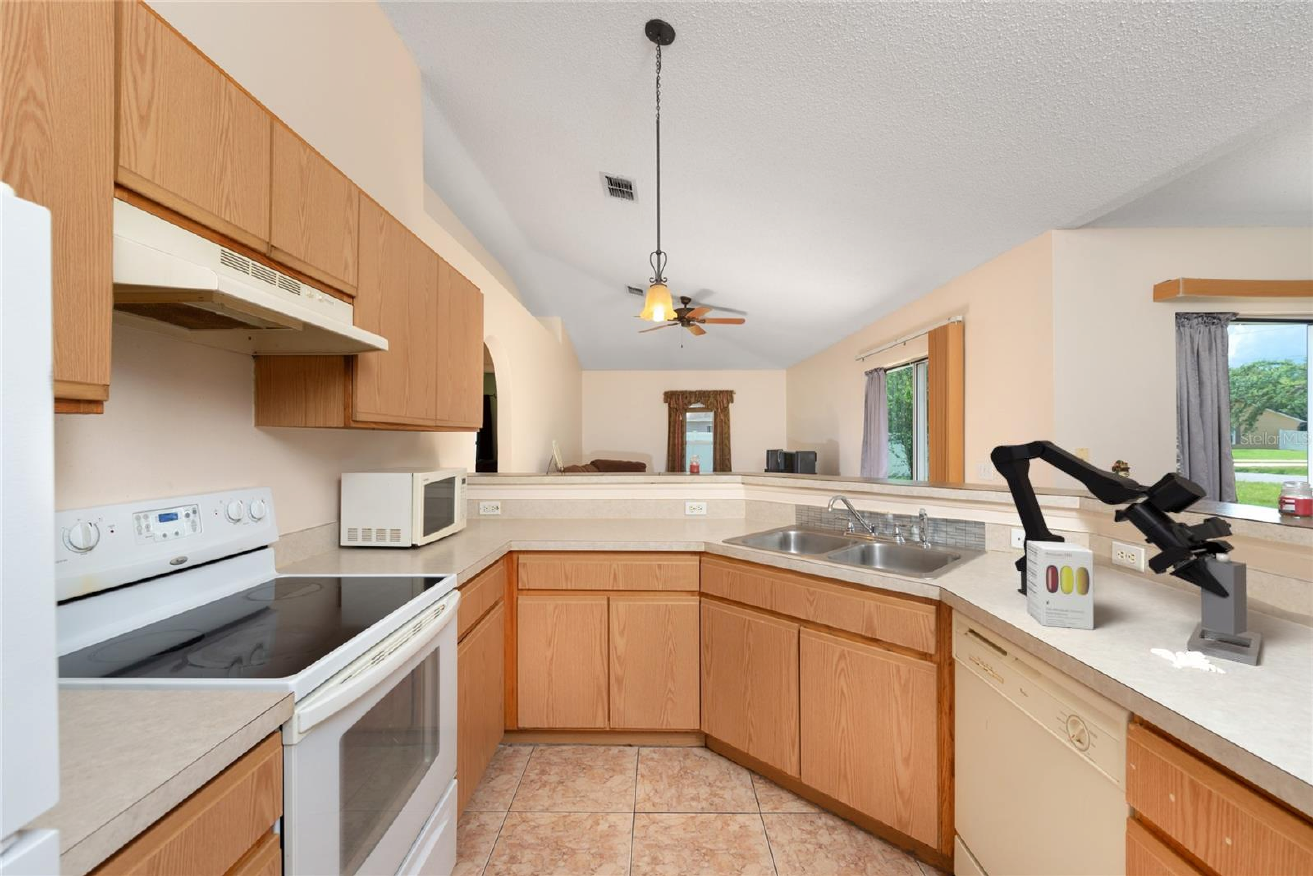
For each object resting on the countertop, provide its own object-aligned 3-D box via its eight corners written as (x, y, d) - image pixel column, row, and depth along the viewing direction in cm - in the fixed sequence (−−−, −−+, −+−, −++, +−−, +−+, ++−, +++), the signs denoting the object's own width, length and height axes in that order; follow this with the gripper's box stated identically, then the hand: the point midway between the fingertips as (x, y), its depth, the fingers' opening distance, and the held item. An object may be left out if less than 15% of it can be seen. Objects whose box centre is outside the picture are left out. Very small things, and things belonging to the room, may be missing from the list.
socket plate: (1255, 665, 89) (1255, 654, 89) (1187, 650, 96) (1187, 639, 96) (1261, 641, 99) (1261, 631, 99) (1198, 629, 106) (1198, 619, 106)
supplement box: (1042, 626, 109) (1040, 548, 109) (1025, 611, 118) (1024, 539, 118) (1096, 630, 106) (1094, 550, 106) (1075, 615, 115) (1073, 541, 115)
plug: (1201, 627, 99) (1200, 553, 99) (1214, 623, 100) (1213, 550, 100) (1234, 635, 95) (1233, 558, 94) (1246, 631, 96) (1246, 555, 96)
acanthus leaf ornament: (1150, 655, 96) (1150, 645, 96) (1196, 659, 94) (1196, 649, 94) (1177, 672, 89) (1177, 662, 89) (1227, 677, 87) (1227, 666, 87)
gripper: (1167, 506, 98) (1251, 578, 88) (1219, 500, 104) (1303, 566, 94) (1119, 539, 105) (1190, 609, 95) (1170, 531, 112) (1242, 596, 102)
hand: (1233, 594), depth 96 cm, fingers closed on plug, 4 cm apart
